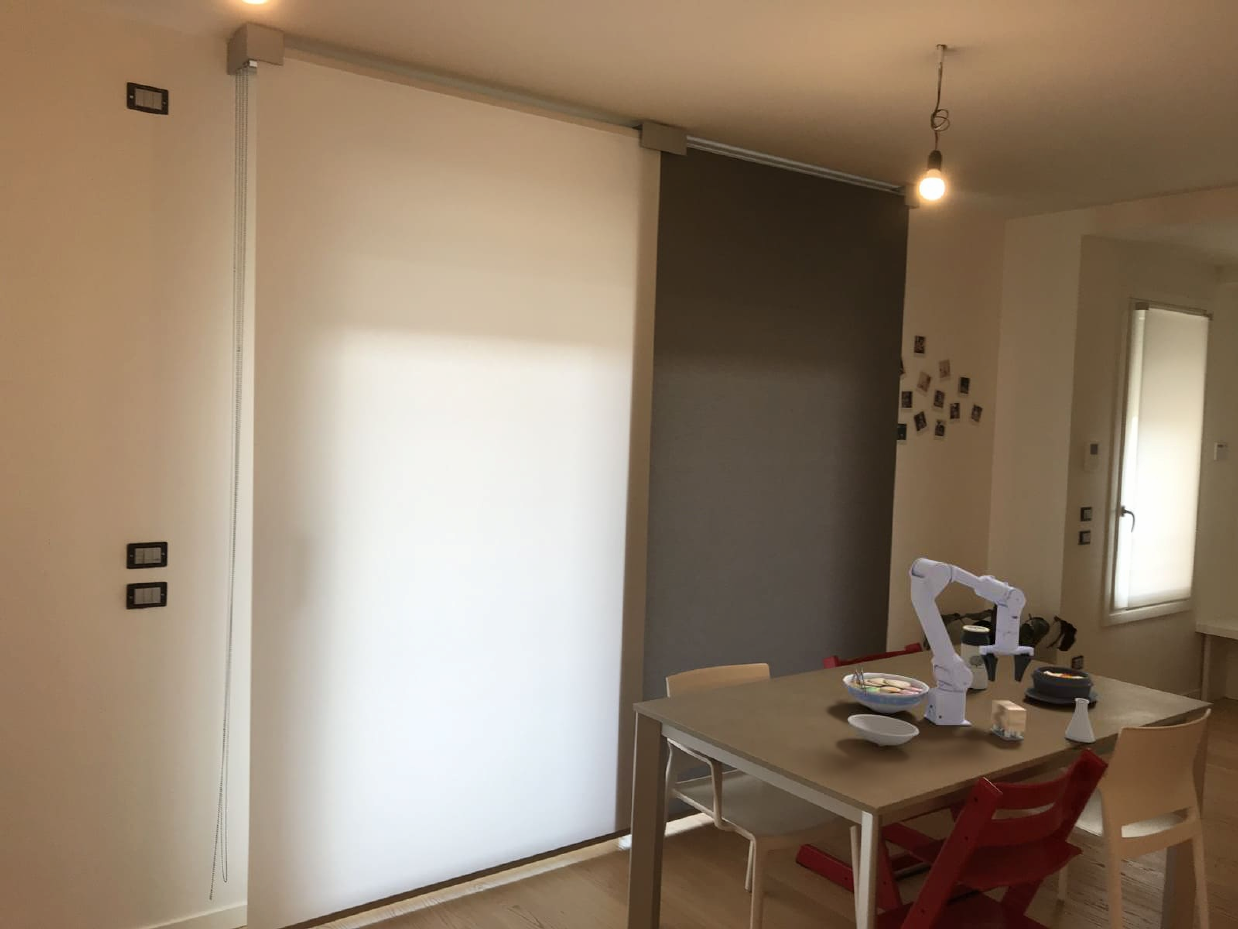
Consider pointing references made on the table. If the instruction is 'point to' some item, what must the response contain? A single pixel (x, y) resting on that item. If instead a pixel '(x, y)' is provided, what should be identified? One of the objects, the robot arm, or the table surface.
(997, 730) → the peg stand
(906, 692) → the ramen bowl
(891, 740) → the dish
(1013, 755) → the table surface
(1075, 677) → the casserole
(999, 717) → the wooden block
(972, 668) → the travel mug
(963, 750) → the table surface
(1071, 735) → the flask
